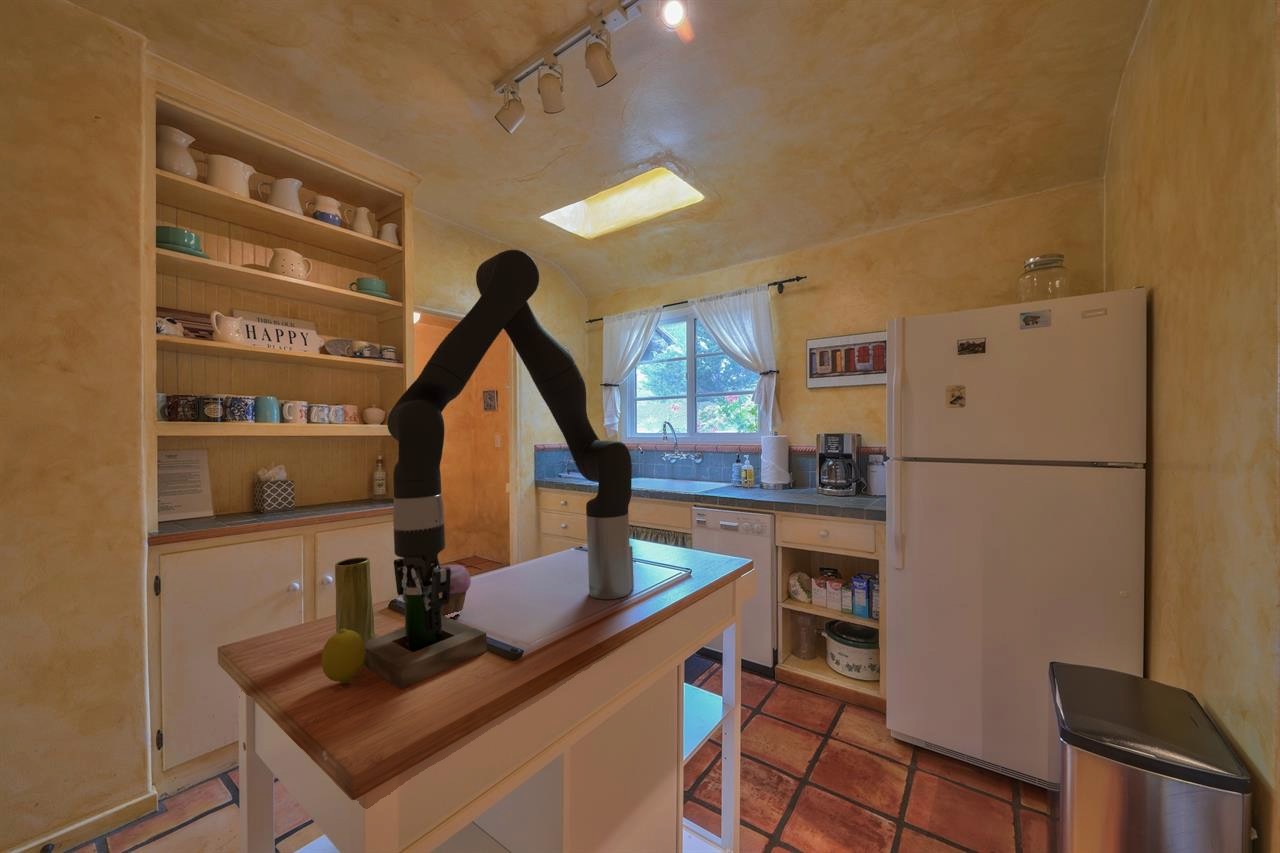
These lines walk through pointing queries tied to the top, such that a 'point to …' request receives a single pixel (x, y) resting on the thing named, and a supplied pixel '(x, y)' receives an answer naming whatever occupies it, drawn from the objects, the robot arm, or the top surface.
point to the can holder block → (422, 653)
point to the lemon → (343, 655)
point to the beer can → (417, 621)
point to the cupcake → (456, 589)
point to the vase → (354, 597)
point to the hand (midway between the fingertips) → (423, 626)
